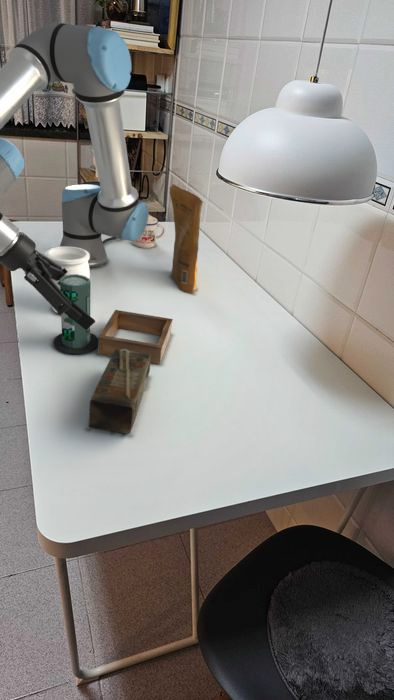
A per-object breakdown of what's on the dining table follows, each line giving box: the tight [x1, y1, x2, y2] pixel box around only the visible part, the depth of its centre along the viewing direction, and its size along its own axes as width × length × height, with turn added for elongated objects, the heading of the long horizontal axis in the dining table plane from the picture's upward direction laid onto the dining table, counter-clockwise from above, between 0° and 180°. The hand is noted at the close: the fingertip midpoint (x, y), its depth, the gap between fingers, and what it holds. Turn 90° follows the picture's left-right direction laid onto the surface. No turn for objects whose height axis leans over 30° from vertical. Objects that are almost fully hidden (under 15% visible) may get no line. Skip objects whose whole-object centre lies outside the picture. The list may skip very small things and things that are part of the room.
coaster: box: [53, 332, 98, 356], centre depth 108 cm, size 10×10×1 cm
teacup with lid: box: [131, 214, 166, 249], centre depth 169 cm, size 12×9×12 cm
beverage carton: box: [88, 349, 151, 435], centre depth 90 cm, size 8×19×7 cm, turn 174°
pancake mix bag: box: [169, 183, 203, 294], centre depth 138 cm, size 7×19×28 cm, turn 20°
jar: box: [45, 246, 91, 314], centre depth 118 cm, size 11×10×15 cm
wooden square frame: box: [97, 309, 173, 365], centre depth 109 cm, size 14×14×4 cm
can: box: [60, 274, 91, 348], centre depth 104 cm, size 6×6×15 cm
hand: (86, 310), depth 104 cm, fingers open, 13 cm apart
